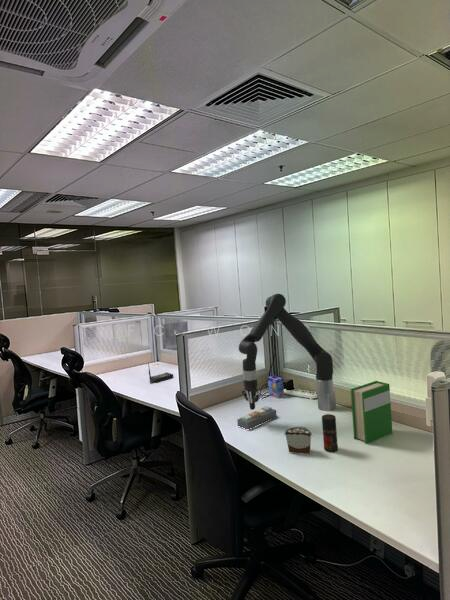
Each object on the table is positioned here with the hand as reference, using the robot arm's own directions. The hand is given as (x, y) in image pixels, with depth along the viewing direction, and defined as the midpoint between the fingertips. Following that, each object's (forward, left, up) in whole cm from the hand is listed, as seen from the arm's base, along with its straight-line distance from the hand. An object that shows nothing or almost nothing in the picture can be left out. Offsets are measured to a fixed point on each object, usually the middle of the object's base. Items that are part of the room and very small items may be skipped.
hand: (252, 409), depth 210 cm
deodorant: (-49, 0, -8) cm, 50 cm away
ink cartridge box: (+19, -41, -8) cm, 46 cm away
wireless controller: (+124, -17, -9) cm, 126 cm away
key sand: (0, -5, -5) cm, 8 cm away
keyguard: (0, -3, -8) cm, 8 cm away
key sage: (0, +5, -5) cm, 8 cm away
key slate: (0, -10, -5) cm, 12 cm away
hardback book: (-57, -23, -8) cm, 62 cm away
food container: (-39, +9, -8) cm, 41 cm away
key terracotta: (0, 0, -5) cm, 5 cm away
